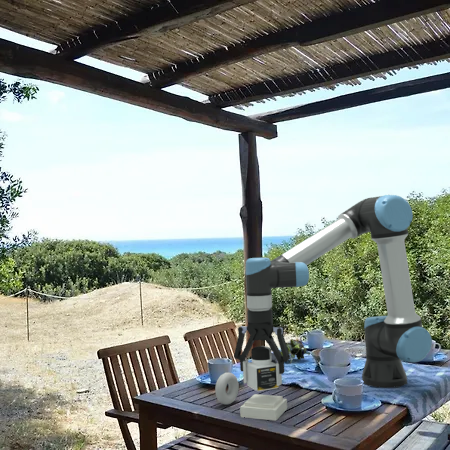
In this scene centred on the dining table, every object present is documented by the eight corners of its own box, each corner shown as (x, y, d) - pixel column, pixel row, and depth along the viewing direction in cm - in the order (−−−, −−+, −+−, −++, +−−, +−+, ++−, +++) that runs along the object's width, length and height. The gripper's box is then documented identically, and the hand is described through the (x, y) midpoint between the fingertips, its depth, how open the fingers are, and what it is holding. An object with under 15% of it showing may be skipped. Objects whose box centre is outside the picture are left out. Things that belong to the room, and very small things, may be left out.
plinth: (287, 408, 167) (286, 395, 167) (276, 420, 156) (275, 406, 157) (253, 405, 171) (252, 392, 171) (240, 417, 161) (240, 403, 161)
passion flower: (299, 373, 229) (315, 349, 228) (290, 374, 220) (306, 350, 218) (279, 355, 234) (294, 333, 233) (269, 356, 225) (285, 333, 224)
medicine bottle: (257, 392, 159) (255, 350, 159) (246, 386, 166) (245, 346, 166) (279, 388, 162) (277, 347, 162) (267, 382, 168) (266, 343, 169)
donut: (233, 399, 179) (232, 368, 179) (241, 400, 176) (240, 369, 177) (213, 407, 171) (212, 375, 171) (222, 409, 169) (220, 377, 169)
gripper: (299, 307, 163) (302, 382, 163) (230, 306, 172) (233, 377, 172) (292, 311, 156) (295, 389, 156) (220, 310, 165) (223, 384, 165)
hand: (262, 383), depth 164 cm, fingers closed on medicine bottle, 10 cm apart
